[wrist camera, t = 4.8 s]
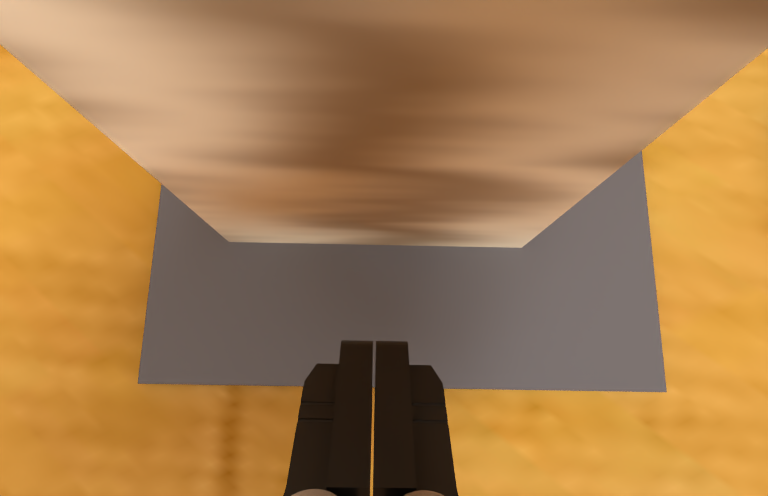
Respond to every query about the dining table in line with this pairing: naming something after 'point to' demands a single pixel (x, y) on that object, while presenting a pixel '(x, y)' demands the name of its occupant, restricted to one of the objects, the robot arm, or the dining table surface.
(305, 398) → the robot arm
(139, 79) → the placard
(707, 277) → the dining table surface
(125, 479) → the dining table surface
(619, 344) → the mat
